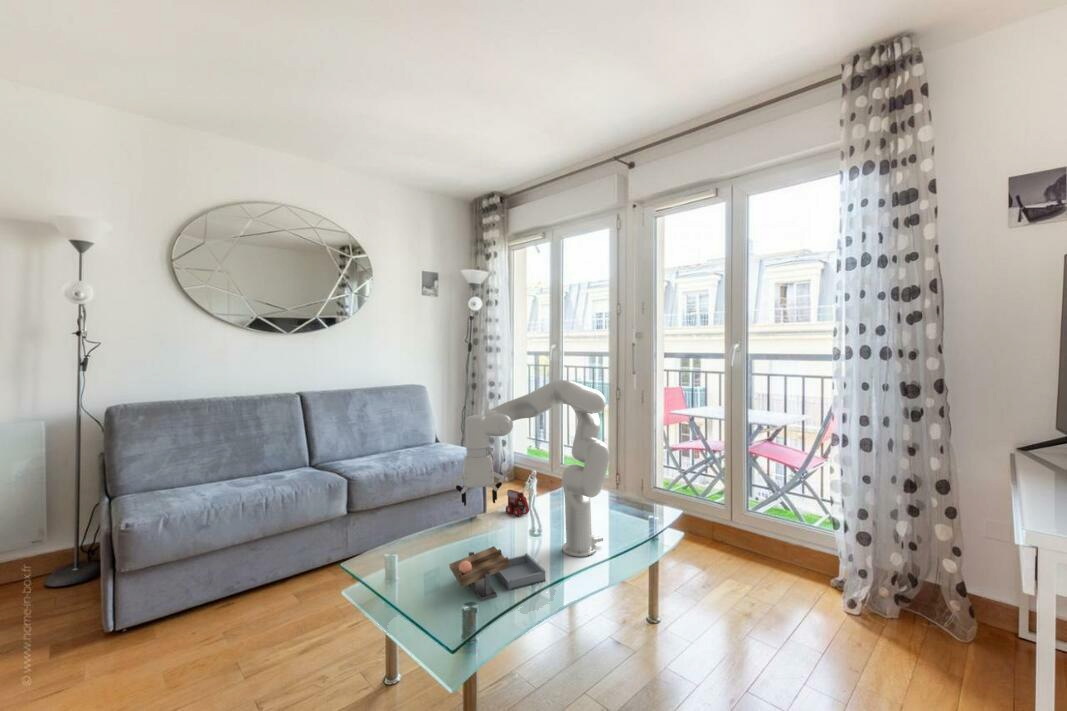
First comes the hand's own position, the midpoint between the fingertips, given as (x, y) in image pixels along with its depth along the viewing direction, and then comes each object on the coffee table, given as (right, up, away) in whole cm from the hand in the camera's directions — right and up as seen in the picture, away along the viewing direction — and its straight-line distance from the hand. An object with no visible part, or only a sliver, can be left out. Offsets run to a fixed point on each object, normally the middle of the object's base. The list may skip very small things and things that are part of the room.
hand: (479, 503), depth 158 cm
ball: (-3, -16, -12) cm, 20 cm away
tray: (+13, -24, -1) cm, 27 cm away
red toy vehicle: (+11, -24, +60) cm, 65 cm away
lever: (+1, -18, -6) cm, 19 cm away
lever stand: (+1, -25, -6) cm, 25 cm away
